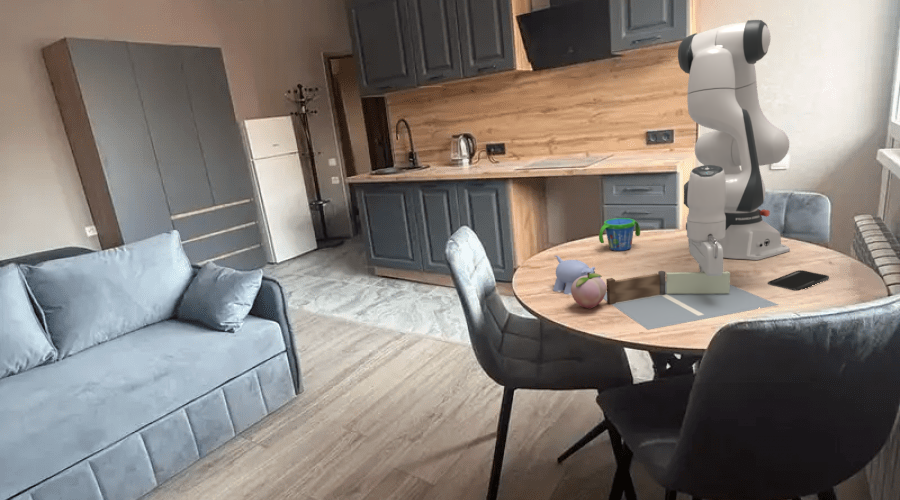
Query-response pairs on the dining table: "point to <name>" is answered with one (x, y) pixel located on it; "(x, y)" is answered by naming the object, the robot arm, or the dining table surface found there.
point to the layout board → (688, 307)
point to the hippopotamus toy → (569, 274)
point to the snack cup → (619, 233)
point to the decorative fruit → (588, 290)
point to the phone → (798, 280)
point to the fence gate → (697, 283)
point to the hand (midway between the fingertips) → (704, 280)
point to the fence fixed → (635, 287)
